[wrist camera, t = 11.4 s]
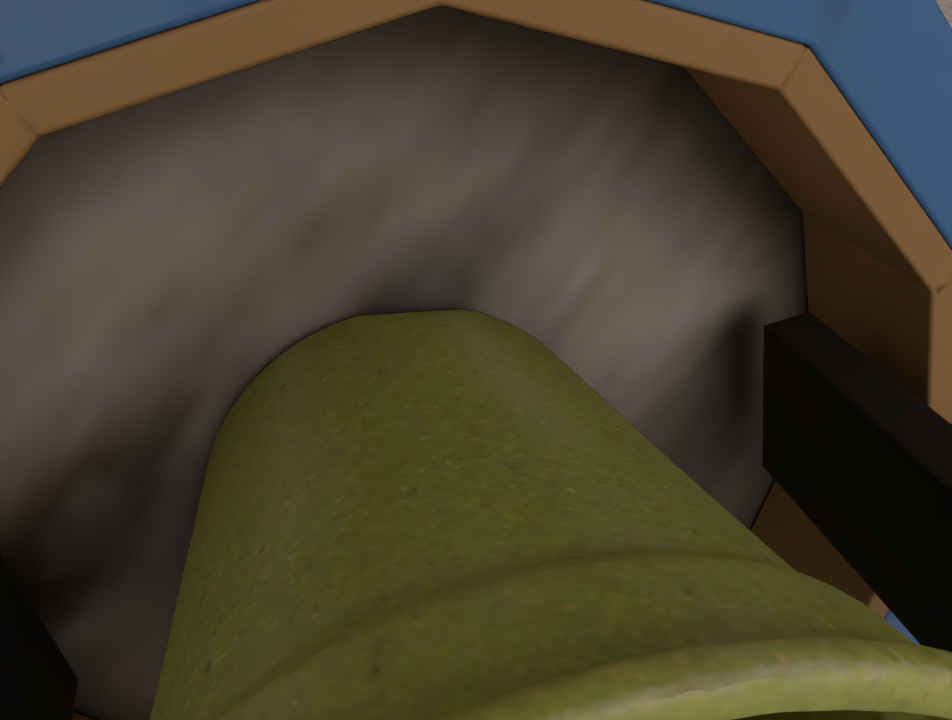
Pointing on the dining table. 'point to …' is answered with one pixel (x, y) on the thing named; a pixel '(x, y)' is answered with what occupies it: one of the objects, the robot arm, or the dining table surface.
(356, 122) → the dining table surface
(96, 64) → the tape roll
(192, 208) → the dining table surface
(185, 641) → the plant pot
